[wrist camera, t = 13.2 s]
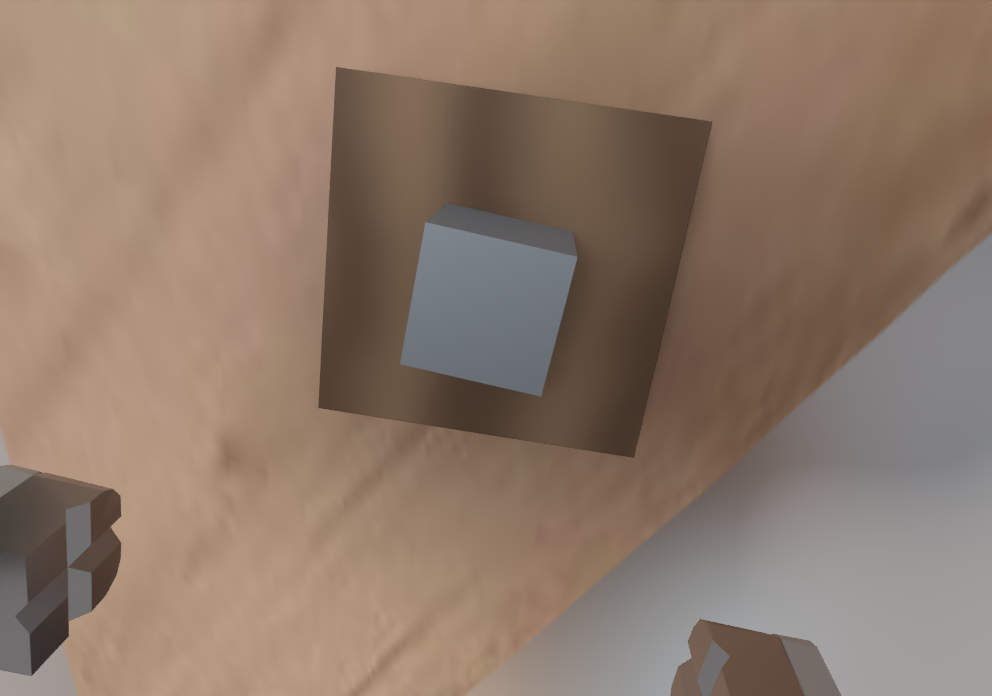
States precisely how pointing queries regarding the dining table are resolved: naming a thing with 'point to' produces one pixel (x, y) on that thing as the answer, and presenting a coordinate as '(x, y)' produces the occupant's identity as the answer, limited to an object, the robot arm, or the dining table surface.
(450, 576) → the dining table surface
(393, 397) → the walnut block
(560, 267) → the slate cube
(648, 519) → the dining table surface
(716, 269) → the dining table surface
